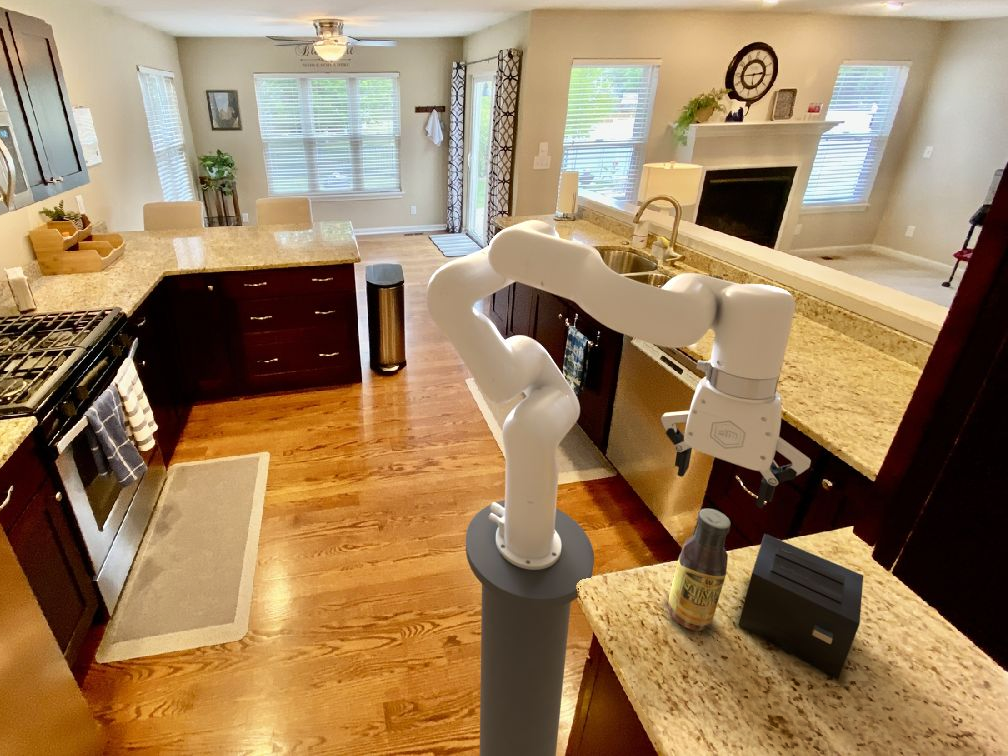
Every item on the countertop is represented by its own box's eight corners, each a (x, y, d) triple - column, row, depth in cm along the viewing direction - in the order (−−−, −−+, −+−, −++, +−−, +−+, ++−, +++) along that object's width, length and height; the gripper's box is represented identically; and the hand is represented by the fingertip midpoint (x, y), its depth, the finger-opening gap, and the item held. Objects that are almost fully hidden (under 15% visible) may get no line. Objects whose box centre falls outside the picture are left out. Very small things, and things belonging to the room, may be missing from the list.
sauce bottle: (672, 629, 76) (692, 530, 69) (662, 594, 81) (680, 499, 75) (719, 638, 74) (745, 537, 67) (706, 601, 80) (728, 505, 73)
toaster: (736, 631, 75) (750, 577, 71) (751, 583, 82) (764, 532, 79) (837, 687, 67) (859, 629, 63) (843, 628, 75) (863, 574, 71)
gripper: (661, 370, 66) (646, 473, 72) (824, 413, 55) (792, 532, 61) (678, 352, 71) (663, 449, 77) (830, 388, 60) (800, 499, 66)
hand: (720, 486), depth 69 cm, fingers open, 9 cm apart
